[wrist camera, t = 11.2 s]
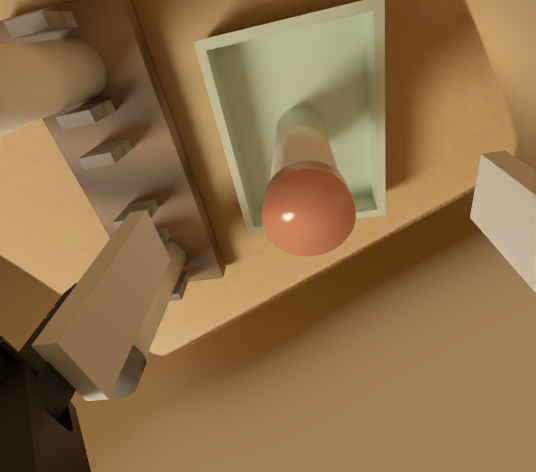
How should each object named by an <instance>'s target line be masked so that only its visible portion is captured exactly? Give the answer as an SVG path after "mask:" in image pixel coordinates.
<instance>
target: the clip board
mask: <svg viewBox="0 0 536 472" xmlns="http://www.w3.org/2000/svg"><path fill="white" fill-rule="evenodd" d="M62 38H76V39H80V40H82V41H84V42H86V43H87V44H89V45H90V46H91V47H92V48H94V50H95V51H96V52H97V53H98V54H99V56H100V57H101V59H102V61H103V63H104V66H105V69H106V74H107V80H106V85H105V88H104V89H103V91H102V92H101V93H100V94H99V95H97V96H95V97H92V98H90V99H88V100H85V101H83V102H81V103H78V104H76V105H73V106H71V107H69V108H66V109H64V110H62V111H59V112H57V113H55V114H52V115H50V116H48V117H45V118H43V121H44V123H45V124H46V126H47V128H48V130H49V131H50V133H51V135H52V137H53V138H54V140H55V142H56V144H57V145H58V147H59V149H60V151H61V153H62V154H63V156H64V158H65V160H66V161H67V163H68V165H69V167H70V168H71V170H72V172H73V174H74V175H75V177H76V179H77V181H78V182H79V184H80V186H81V188H82V189H83V191H84V193H85V195H86V196H87V198H88V200H89V202H90V203H91V205H92V207H93V209H94V210H95V212H96V214H97V216H98V217H99V219H100V221H101V223H102V224H103V226H104V228H105V230H106V231H107V233H108V235H109V237H110V238H111V237H112V236H113V235H114V233H115V232H116V231H117V229H118V228H119V227H120V225H121V224H122V223H123V221H124V220H125V218H126V217H127V216H128V214H129V213H130V212H136V211H142V210H147V212H148V214H149V216H150V218H151V220H152V222H153V224H154V226H155V228H156V230H157V232H158V234H159V237H160V239H161V241H162V243H163V245H164V246H165V244H166V242H167V240H169V241H172V242H175V243H176V244H178V245H179V246H180V247H181V248H182V249H183V250H184V252H185V254H186V262H185V264H184V267H183V269H182V272H181V274H180V276H179V279H178V281H177V284H176V286H175V288H174V291H173V293H172V296H171V298H170V301H175V300H181V299H182V297H183V294H184V291H185V289H186V286H187V283H188V282H191V281H199V280H207V279H216V278H223V276H224V272H225V268H226V267H225V265H224V262H223V259H222V256H221V253H220V250H219V248H218V245H217V242H216V239H215V236H214V234H213V231H212V228H211V225H210V222H209V219H208V217H207V214H206V211H205V208H204V205H203V202H202V200H201V197H200V194H199V191H198V188H197V186H196V183H195V180H194V177H193V174H192V171H191V169H190V166H189V163H188V160H187V157H186V155H185V152H184V149H183V146H182V143H181V140H180V138H179V135H178V132H177V129H176V126H175V124H174V121H173V118H172V115H171V112H170V109H169V107H168V104H167V101H166V98H165V95H164V93H163V90H162V87H161V84H160V81H159V78H158V76H157V73H156V70H155V67H154V64H153V62H152V59H151V56H150V53H149V50H148V47H147V45H146V42H145V39H144V36H143V33H142V30H141V28H140V25H139V22H138V19H137V16H136V14H135V11H134V8H133V5H132V2H131V0H72V1H69V2H65V3H61V4H58V5H54V6H51V7H47V8H44V9H40V10H36V11H33V12H29V13H26V14H22V15H19V16H15V17H12V18H8V19H4V20H1V21H0V45H5V44H15V43H24V42H34V41H43V40H52V39H62Z"/></svg>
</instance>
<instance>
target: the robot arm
mask: <svg viewBox="0 0 536 472" xmlns="http://www.w3.org/2000/svg"><path fill="white" fill-rule="evenodd" d="M470 218H471V219H472V220H473V222H474V223H475V224H476V225H477V226H478V227H479V228H480V230H481V231H482V232H483V233H484V234H485V235H486V236H487V237H488V239H489V240H490V241H491V242H492V243H493V244H494V246H495V247H496V248H497V249H498V250H499V251H500V252H501V253H502V255H503V256H504V257H505V258H506V259H507V260H508V262H509V263H510V264H511V265H512V266H513V267H514V268H515V269H516V271H517V272H518V273H519V274H520V275H521V276H522V278H523V279H524V280H525V281H526V282H527V283H528V284H529V286H530V287H531V288H532V289H533V290H534V291H535V292H536V171H535V170H533V169H532V168H530V167H529V166H527V165H526V164H524V163H523V162H521V161H520V160H518V159H517V158H515V157H514V156H512V155H511V154H509V153H508V152H506V151H505V150H503V151H497V152H491V153H485V154H481V159H480V165H479V170H478V176H477V182H476V187H475V193H474V199H473V204H472V210H471V216H470ZM170 260H171V259H170V257H169V255H168V253H167V251H166V249H165V247H164V245H163V243H162V241H161V239H160V237H159V234H158V232H157V230H156V228H155V226H154V224H153V222H152V220H151V218H150V216H149V214H148V212H147V210H142V211H136V212H130V213H129V214H128V216H127V217H126V218H125V220H124V221H123V223H122V224H121V225H120V227H119V228H118V229H117V231H116V232H115V233H114V235H113V236H112V237H111V239H110V240H109V241H108V243H107V244H106V245H105V247H104V248H103V249H102V251H101V252H100V254H99V255H98V256H97V258H96V259H95V260H94V262H93V263H92V264H91V266H90V267H89V268H88V270H87V271H86V272H85V274H84V275H83V276H82V278H81V279H80V281H79V282H78V283H76V284H74V285H73V286H72V287H71V288H70V289H69V290H67V291H66V292H65V293H64V294H63V295H62V296H61V298H60V299H59V300H58V301H57V303H56V304H55V305H54V309H51V311H50V312H49V313H48V314H47V316H46V319H44V320H43V321H42V322H41V324H40V325H39V326H38V328H37V329H36V330H35V331H34V333H33V334H32V335H31V337H30V338H29V339H28V341H27V342H26V343H25V345H24V346H23V347H22V349H21V350H20V351H19V352H18V351H17V350H16V349H15V348H14V347H13V346H12V345H11V344H10V343H8V342H7V341H6V340H5V339H4V338H3V337H2V336H0V472H91V470H90V466H89V462H88V458H87V454H86V449H85V445H84V441H83V437H82V433H81V429H80V425H79V421H78V417H77V412H76V409H75V407H74V406H73V404H72V403H71V402H70V400H71V398H72V396H73V394H74V392H75V391H77V392H78V393H79V394H80V395H81V396H82V397H83V398H84V399H85V400H86V401H92V400H105V399H109V397H110V395H111V393H112V390H113V388H114V386H115V384H116V381H117V379H118V377H119V375H120V372H121V370H122V368H123V366H124V363H125V361H126V359H127V357H128V354H129V352H130V350H131V348H132V345H133V343H134V341H135V339H136V336H137V334H138V332H139V330H140V327H141V325H142V323H143V321H144V318H145V316H146V314H147V312H148V309H149V307H150V305H151V303H152V300H153V298H154V296H155V294H156V291H157V289H158V287H159V285H160V282H161V280H162V278H163V276H164V273H165V271H166V269H167V267H168V264H169V262H170Z"/></svg>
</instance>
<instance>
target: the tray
mask: <svg viewBox="0 0 536 472" xmlns="http://www.w3.org/2000/svg"><path fill="white" fill-rule="evenodd" d="M194 46H195V49H196V53H197V56H198V60H199V63H200V67H201V70H202V74H203V77H204V81H205V84H206V88H207V91H208V95H209V99H210V102H211V106H212V109H213V113H214V116H215V120H216V123H217V127H218V130H219V134H220V137H221V141H222V144H223V148H224V151H225V155H226V158H227V162H228V165H229V169H230V172H231V176H232V179H233V183H234V186H235V190H236V193H237V197H238V200H239V204H240V207H241V211H242V214H243V218H244V221H245V225H246V229H247V232H248V234H255V233H262V232H265V231H264V228H263V224H262V210H263V203H264V195H265V191H266V188H267V185H268V183H269V182H270V179H271V170H272V161H273V152H274V143H275V134H276V126H277V123H278V120H279V119H280V117H281V116H282V115H283V114H284V113H285V112H286V111H287V110H289V109H291V108H294V107H299V106H303V107H308V108H311V109H313V110H314V111H316V112H317V113H318V114H319V116H320V117H321V119H322V121H323V124H324V127H325V130H326V133H327V137H328V140H329V143H330V146H331V149H332V152H333V155H334V159H335V162H336V165H337V168H338V171H339V173H340V174H341V175H342V176H343V178H344V179H345V181H346V183H347V185H348V188H349V191H350V193H351V196H352V199H353V202H354V205H355V210H356V219H360V218H367V217H374V216H382V215H386V178H385V0H360V1H356V2H352V3H348V4H344V5H340V6H336V7H332V8H327V9H323V10H319V11H315V12H311V13H307V14H303V15H299V16H295V17H290V18H286V19H282V20H278V21H274V22H270V23H266V24H262V25H258V26H253V27H249V28H245V29H241V30H237V31H233V32H229V33H225V34H221V35H216V36H212V37H208V38H204V39H201V40H197V41H194Z"/></svg>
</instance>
